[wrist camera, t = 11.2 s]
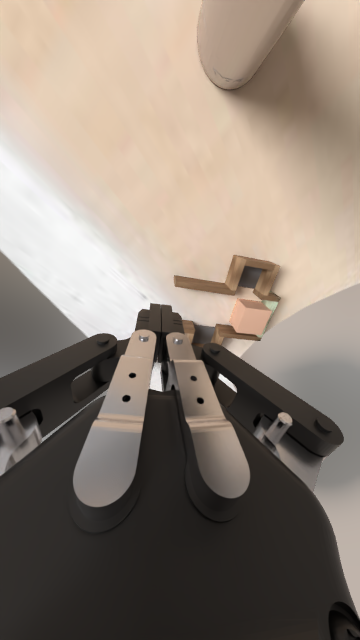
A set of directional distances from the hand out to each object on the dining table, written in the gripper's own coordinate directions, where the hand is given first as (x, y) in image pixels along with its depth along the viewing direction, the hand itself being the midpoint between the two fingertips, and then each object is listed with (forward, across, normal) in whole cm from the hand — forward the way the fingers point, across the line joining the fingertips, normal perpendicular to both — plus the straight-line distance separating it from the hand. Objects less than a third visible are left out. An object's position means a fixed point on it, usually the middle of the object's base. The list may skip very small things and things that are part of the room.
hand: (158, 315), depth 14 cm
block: (+26, -22, +11) cm, 35 cm away
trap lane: (+25, -15, +10) cm, 31 cm away
